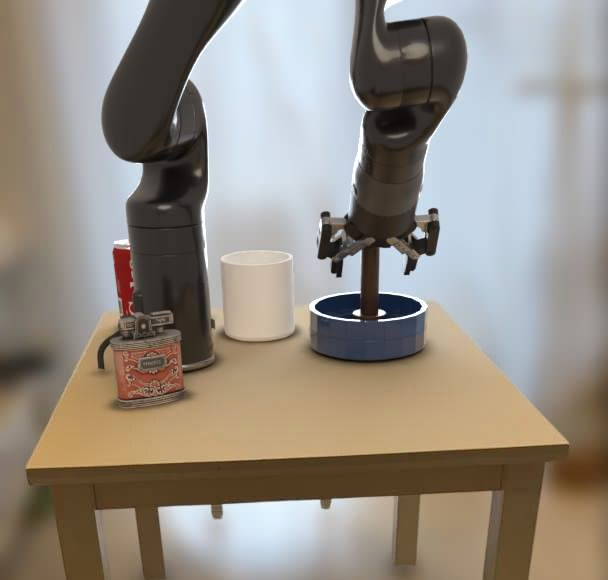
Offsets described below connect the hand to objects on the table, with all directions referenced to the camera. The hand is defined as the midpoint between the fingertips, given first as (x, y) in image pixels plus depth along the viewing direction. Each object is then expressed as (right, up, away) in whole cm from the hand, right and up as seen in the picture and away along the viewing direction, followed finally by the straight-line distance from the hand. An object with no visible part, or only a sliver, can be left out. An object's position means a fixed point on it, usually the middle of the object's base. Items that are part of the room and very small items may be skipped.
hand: (371, 270), depth 112 cm
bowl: (0, -8, +8) cm, 11 cm away
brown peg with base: (0, -7, +7) cm, 10 cm away
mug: (-15, -4, +16) cm, 23 cm away
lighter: (-26, -18, -9) cm, 33 cm away
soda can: (-33, -3, +19) cm, 38 cm away
